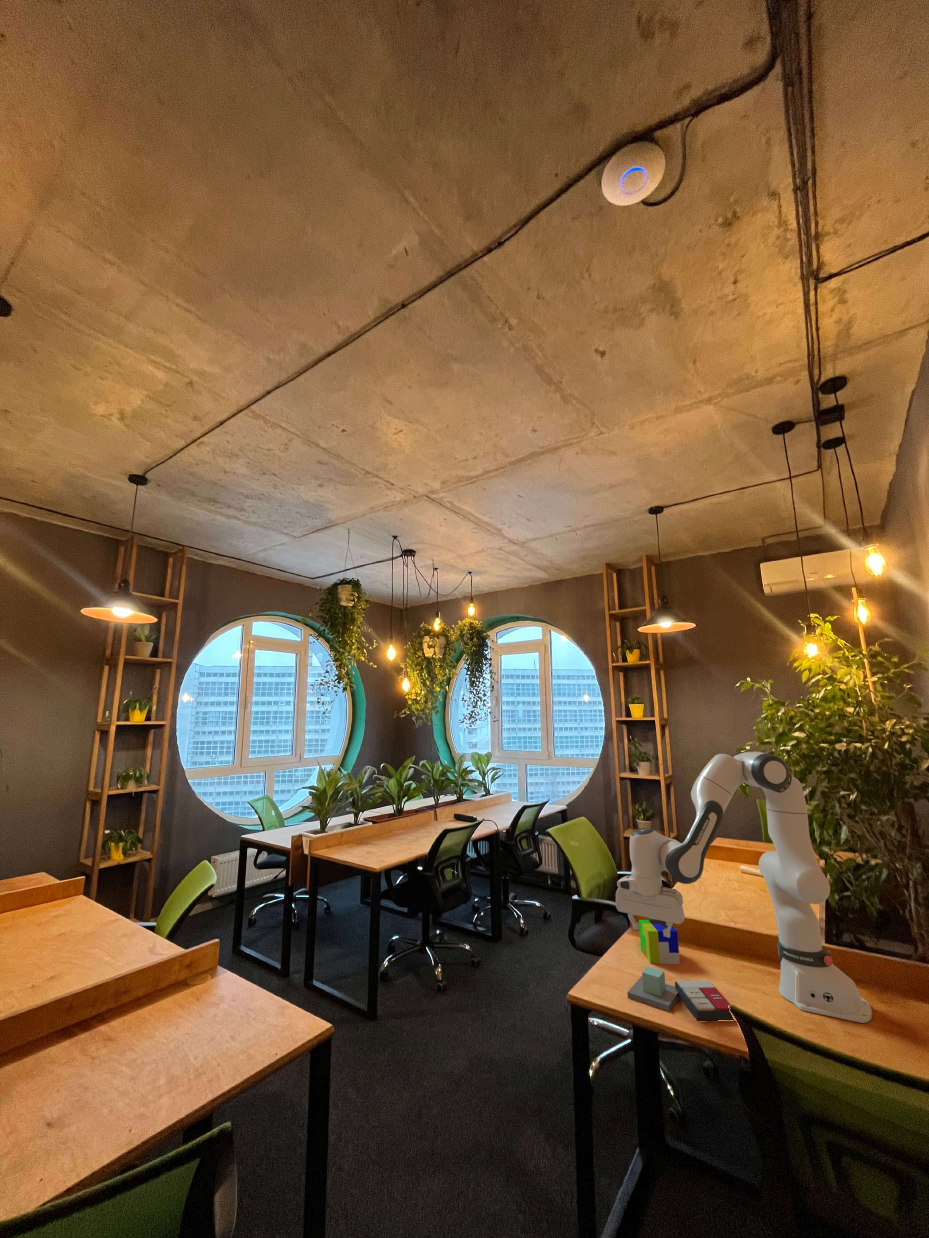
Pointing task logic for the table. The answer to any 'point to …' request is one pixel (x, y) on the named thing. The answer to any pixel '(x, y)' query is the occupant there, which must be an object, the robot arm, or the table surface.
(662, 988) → the teal cube
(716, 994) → the calculator
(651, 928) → the puzzle toy
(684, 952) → the table surface
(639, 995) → the slate coaster
